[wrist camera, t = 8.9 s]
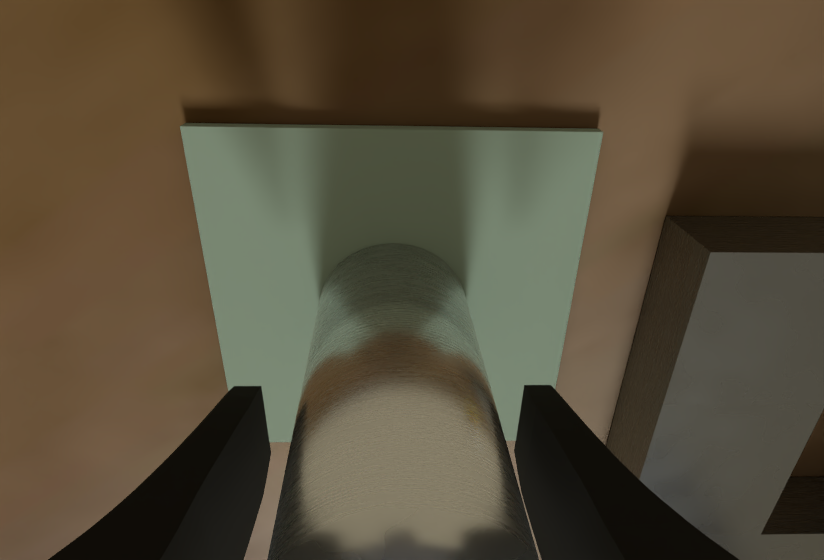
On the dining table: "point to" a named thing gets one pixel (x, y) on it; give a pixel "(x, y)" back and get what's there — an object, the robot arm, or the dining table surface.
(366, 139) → the mat
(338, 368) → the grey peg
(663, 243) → the socket block
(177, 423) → the dining table surface
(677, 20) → the dining table surface
